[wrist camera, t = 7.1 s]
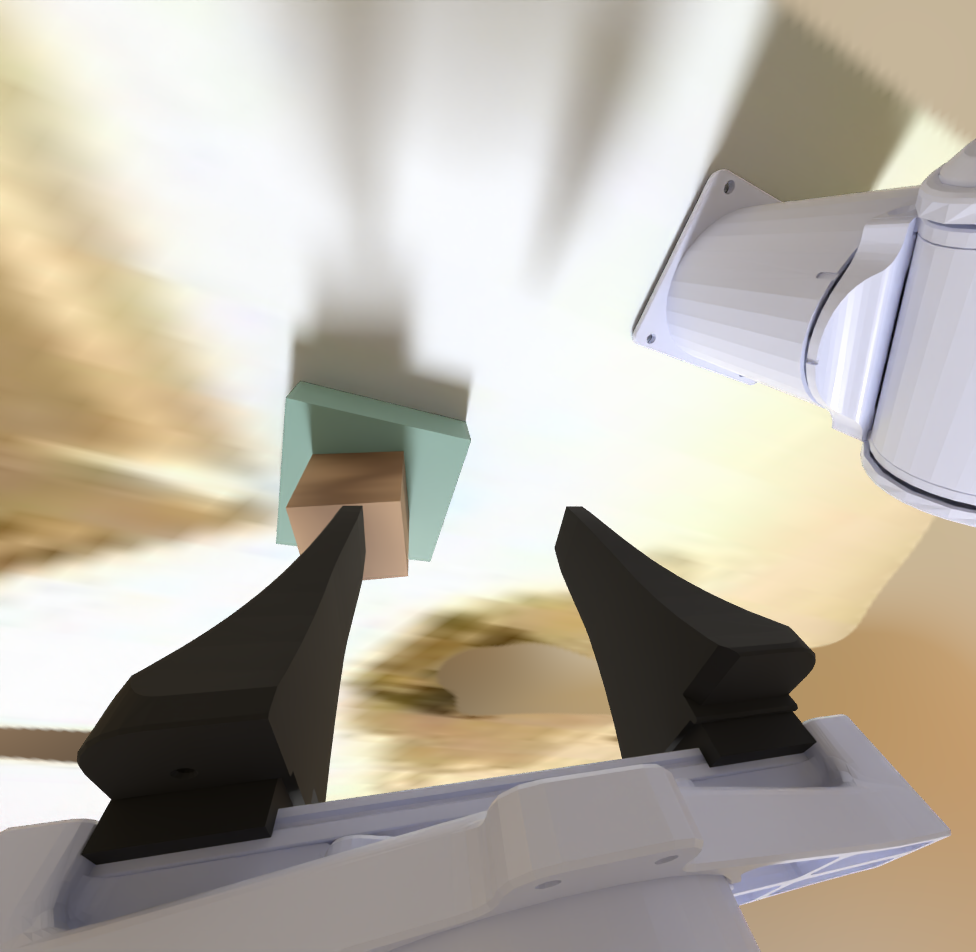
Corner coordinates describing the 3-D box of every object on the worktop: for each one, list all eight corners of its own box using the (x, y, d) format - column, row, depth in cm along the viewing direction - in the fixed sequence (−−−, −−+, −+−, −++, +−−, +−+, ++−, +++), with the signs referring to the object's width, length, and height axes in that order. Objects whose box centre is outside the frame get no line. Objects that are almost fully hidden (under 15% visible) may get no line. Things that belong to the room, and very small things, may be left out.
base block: (464, 418, 22) (471, 440, 19) (428, 531, 26) (430, 561, 24) (302, 378, 19) (285, 398, 17) (290, 511, 23) (276, 543, 21)
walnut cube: (403, 451, 19) (400, 501, 15) (409, 518, 21) (408, 576, 18) (312, 454, 18) (285, 507, 15) (329, 523, 21) (309, 585, 17)
